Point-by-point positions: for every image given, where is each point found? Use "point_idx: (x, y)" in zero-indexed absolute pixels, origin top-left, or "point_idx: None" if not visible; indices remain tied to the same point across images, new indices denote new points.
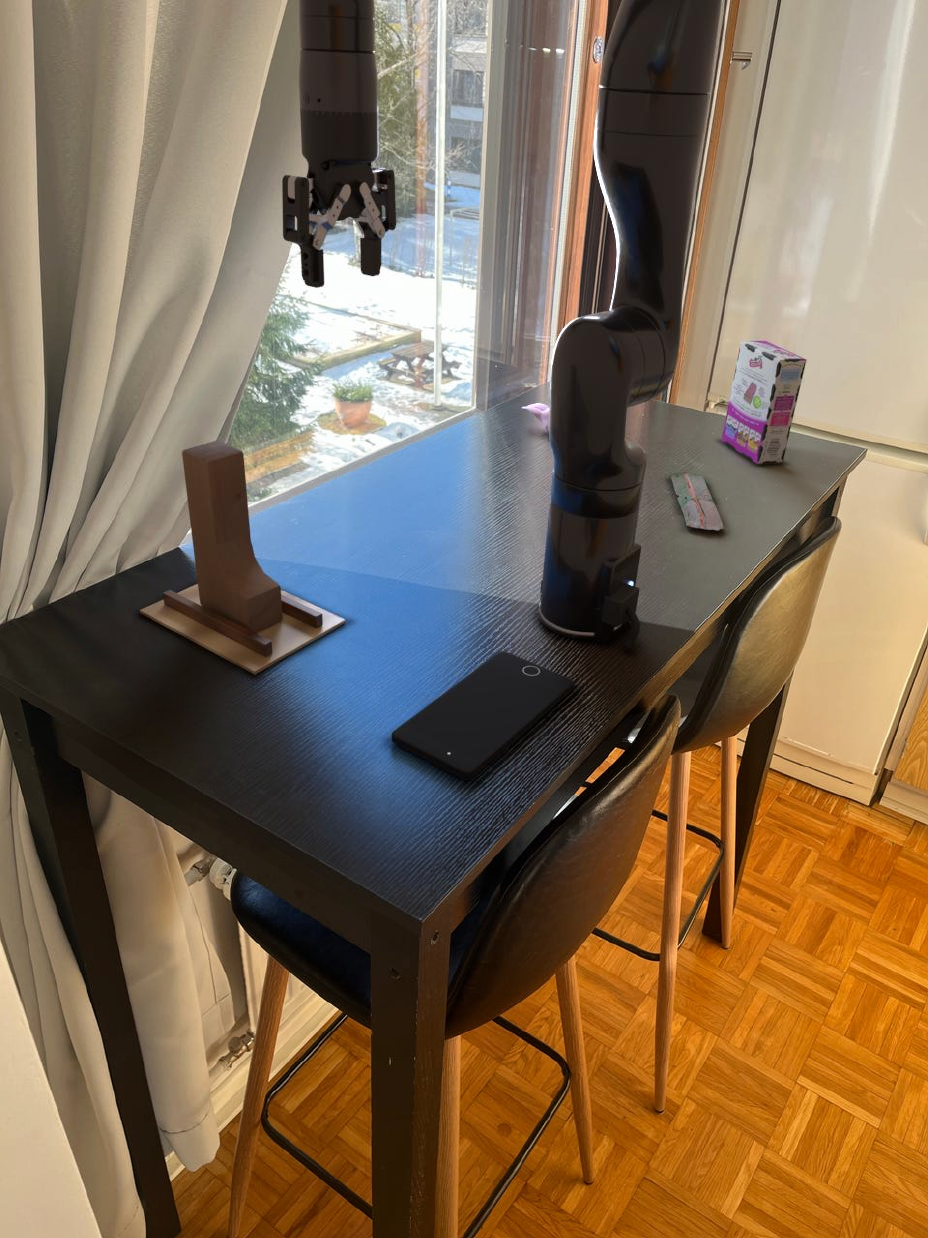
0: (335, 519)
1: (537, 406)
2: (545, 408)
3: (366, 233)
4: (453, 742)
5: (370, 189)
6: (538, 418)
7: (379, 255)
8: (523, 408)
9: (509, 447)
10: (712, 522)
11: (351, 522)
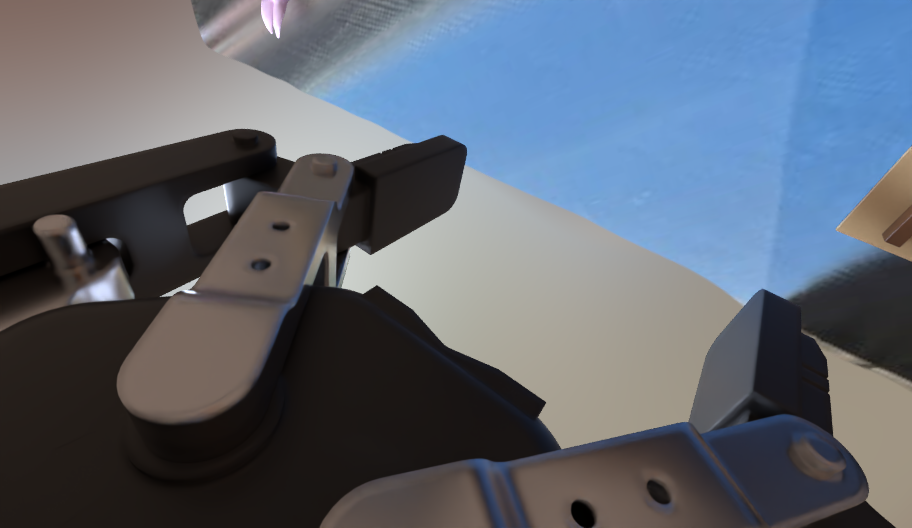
0: (618, 149)
1: (268, 16)
2: (267, 2)
3: (353, 234)
4: None
5: (147, 306)
6: (286, 5)
7: (403, 150)
8: (279, 33)
9: (347, 19)
10: None
11: (621, 125)
